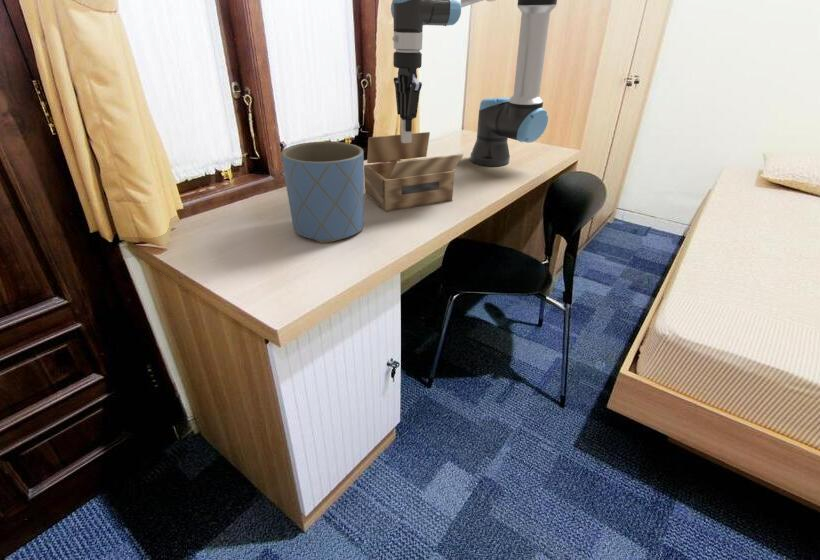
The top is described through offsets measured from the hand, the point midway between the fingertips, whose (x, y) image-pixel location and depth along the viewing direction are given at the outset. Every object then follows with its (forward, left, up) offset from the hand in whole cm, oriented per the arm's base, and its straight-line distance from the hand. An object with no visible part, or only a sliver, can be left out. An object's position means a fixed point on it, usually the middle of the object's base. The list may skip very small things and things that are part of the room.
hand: (406, 142), depth 127 cm
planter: (+29, +15, -16) cm, 37 cm away
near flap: (0, +13, -4) cm, 13 cm away
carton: (0, +2, -16) cm, 16 cm away
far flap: (0, -5, -3) cm, 6 cm away
